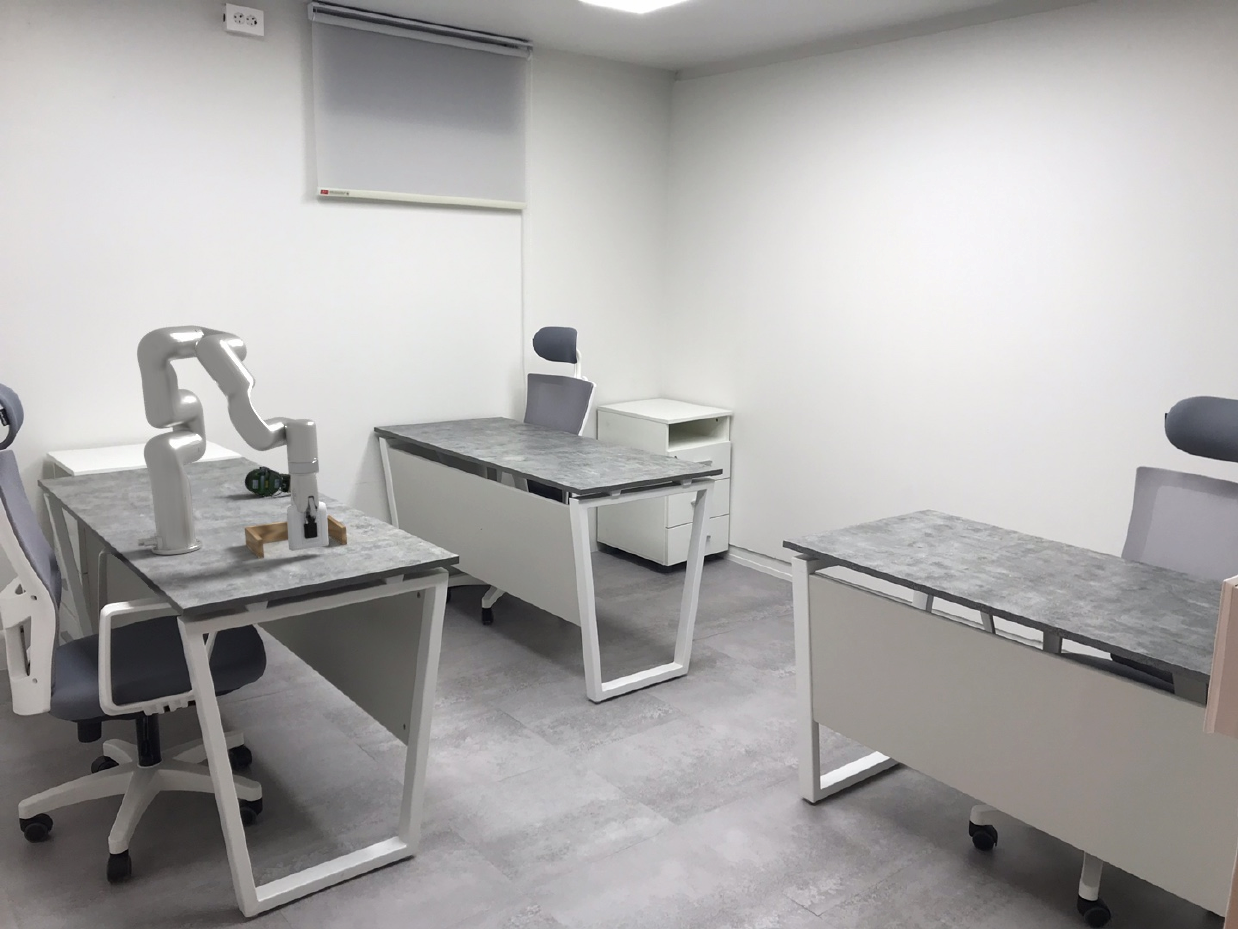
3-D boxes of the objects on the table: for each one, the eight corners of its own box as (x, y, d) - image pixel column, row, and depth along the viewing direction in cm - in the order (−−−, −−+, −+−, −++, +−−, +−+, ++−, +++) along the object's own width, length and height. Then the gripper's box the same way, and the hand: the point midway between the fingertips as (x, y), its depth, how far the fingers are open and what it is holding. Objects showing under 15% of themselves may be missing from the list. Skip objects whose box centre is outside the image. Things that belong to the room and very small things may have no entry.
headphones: (259, 486, 311) (317, 486, 324) (250, 453, 317) (308, 455, 330) (246, 509, 319) (304, 509, 332) (238, 477, 325) (295, 478, 338)
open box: (259, 558, 251) (257, 540, 250) (246, 544, 264) (244, 527, 263) (347, 544, 263) (346, 526, 262) (330, 532, 276) (329, 515, 275)
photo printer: (326, 542, 256) (323, 497, 254) (331, 546, 253) (328, 500, 250) (286, 548, 251) (283, 502, 248) (291, 552, 247) (288, 505, 245)
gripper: (280, 463, 252) (285, 530, 256) (297, 474, 239) (302, 545, 242) (308, 460, 257) (313, 526, 260) (327, 471, 243) (332, 540, 246)
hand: (308, 534), depth 251 cm, fingers closed on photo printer, 4 cm apart
